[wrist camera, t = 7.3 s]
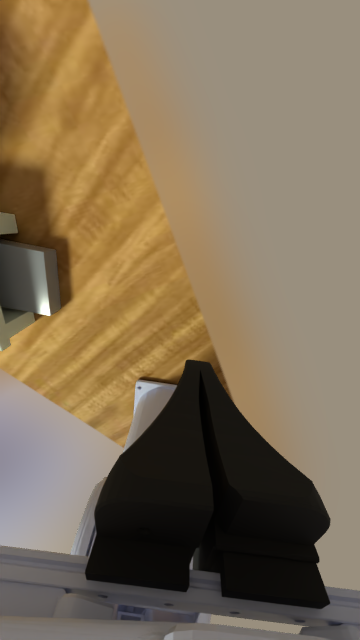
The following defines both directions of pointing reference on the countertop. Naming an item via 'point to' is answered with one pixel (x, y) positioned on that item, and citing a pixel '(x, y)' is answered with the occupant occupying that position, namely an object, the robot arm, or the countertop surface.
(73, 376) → the countertop surface
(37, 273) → the slate tile
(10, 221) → the shelf
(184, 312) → the countertop surface
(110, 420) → the countertop surface
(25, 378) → the countertop surface
